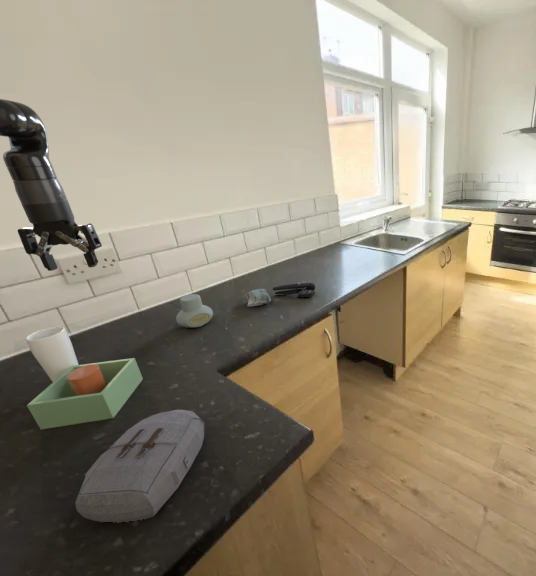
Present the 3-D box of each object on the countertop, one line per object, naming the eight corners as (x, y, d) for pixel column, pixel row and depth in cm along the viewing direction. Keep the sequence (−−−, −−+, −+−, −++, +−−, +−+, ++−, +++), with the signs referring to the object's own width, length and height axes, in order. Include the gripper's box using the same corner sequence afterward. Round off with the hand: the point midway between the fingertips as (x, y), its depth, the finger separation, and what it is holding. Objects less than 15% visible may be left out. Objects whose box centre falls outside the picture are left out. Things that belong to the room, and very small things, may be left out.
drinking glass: (92, 380, 82) (69, 330, 76) (58, 396, 77) (30, 343, 71) (82, 372, 85) (58, 323, 79) (48, 387, 80) (20, 336, 74)
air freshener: (209, 314, 115) (202, 289, 112) (218, 321, 110) (211, 295, 106) (175, 325, 108) (167, 299, 104) (183, 334, 103) (175, 306, 99)
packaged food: (248, 311, 117) (246, 299, 115) (244, 300, 126) (241, 288, 125) (272, 306, 121) (270, 294, 119) (266, 295, 130) (264, 284, 128)
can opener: (318, 292, 132) (317, 279, 130) (313, 299, 125) (311, 286, 123) (277, 291, 134) (275, 279, 132) (270, 298, 127) (268, 285, 125)
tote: (40, 429, 67) (26, 405, 65) (82, 387, 79) (71, 365, 77) (113, 418, 70) (102, 394, 67) (143, 379, 82) (134, 357, 79)
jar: (75, 410, 71) (60, 381, 68) (90, 393, 76) (77, 366, 73) (102, 406, 72) (89, 377, 69) (116, 390, 77) (104, 362, 74)
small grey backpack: (168, 525, 49) (223, 424, 67) (151, 488, 46) (214, 392, 64) (67, 531, 48) (150, 428, 67) (43, 494, 45) (137, 396, 64)
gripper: (91, 197, 77) (114, 261, 83) (21, 200, 74) (50, 266, 80) (69, 200, 70) (97, 270, 76) (-9, 204, 67) (26, 276, 74)
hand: (73, 268), depth 78 cm, fingers open, 8 cm apart
